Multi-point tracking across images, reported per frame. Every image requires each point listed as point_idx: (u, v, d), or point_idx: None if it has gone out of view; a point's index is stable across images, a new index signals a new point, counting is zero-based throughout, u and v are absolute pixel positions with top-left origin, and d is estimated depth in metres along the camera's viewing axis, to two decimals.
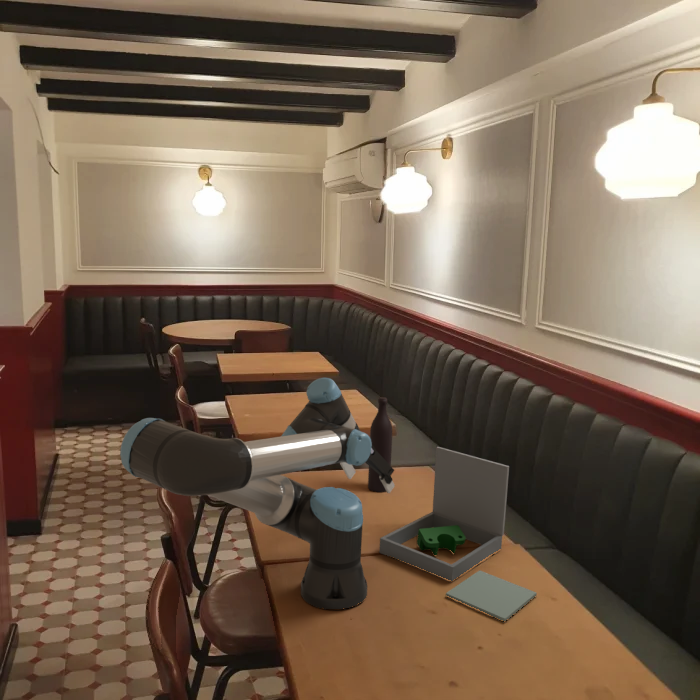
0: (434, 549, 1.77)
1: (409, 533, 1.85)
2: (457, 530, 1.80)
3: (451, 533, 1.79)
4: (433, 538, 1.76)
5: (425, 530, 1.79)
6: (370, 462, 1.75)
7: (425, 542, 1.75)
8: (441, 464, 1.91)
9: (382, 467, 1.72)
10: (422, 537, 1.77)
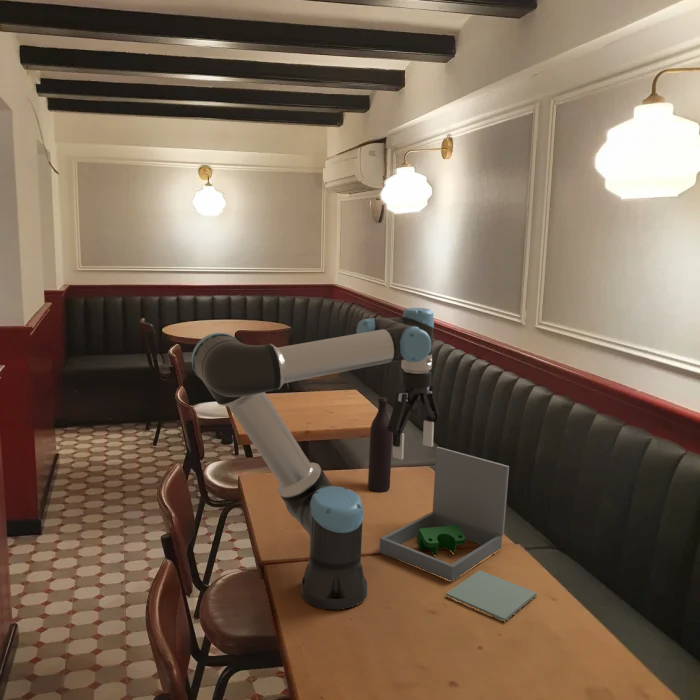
0: (434, 549, 1.77)
1: (409, 533, 1.85)
2: (457, 530, 1.80)
3: (451, 533, 1.79)
4: (433, 538, 1.76)
5: (425, 530, 1.79)
6: None
7: (425, 542, 1.75)
8: (441, 464, 1.91)
9: (392, 418, 1.67)
10: (422, 537, 1.77)
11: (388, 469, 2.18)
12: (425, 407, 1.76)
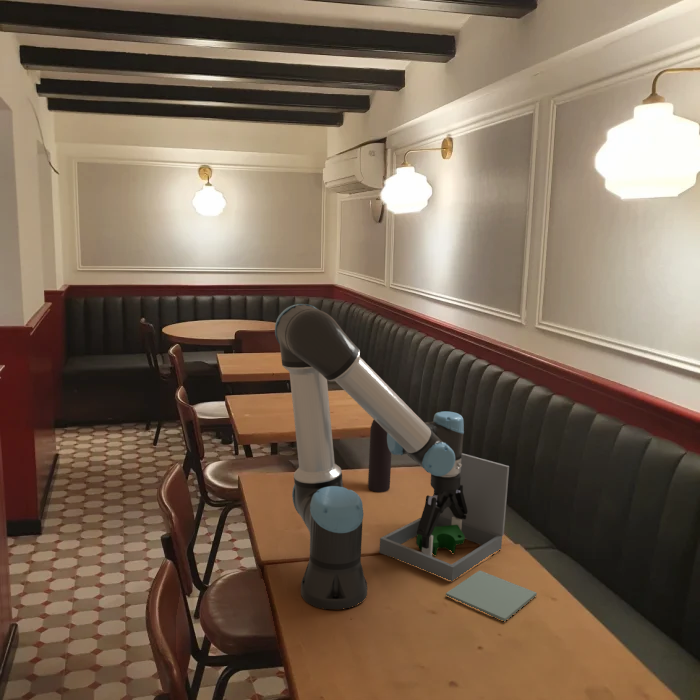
0: (433, 549, 1.77)
1: (409, 533, 1.85)
2: (456, 530, 1.80)
3: (450, 532, 1.79)
4: None
5: None
6: None
7: None
8: None
9: (421, 520, 1.72)
10: (421, 537, 1.77)
11: (388, 469, 2.18)
12: (453, 506, 1.80)
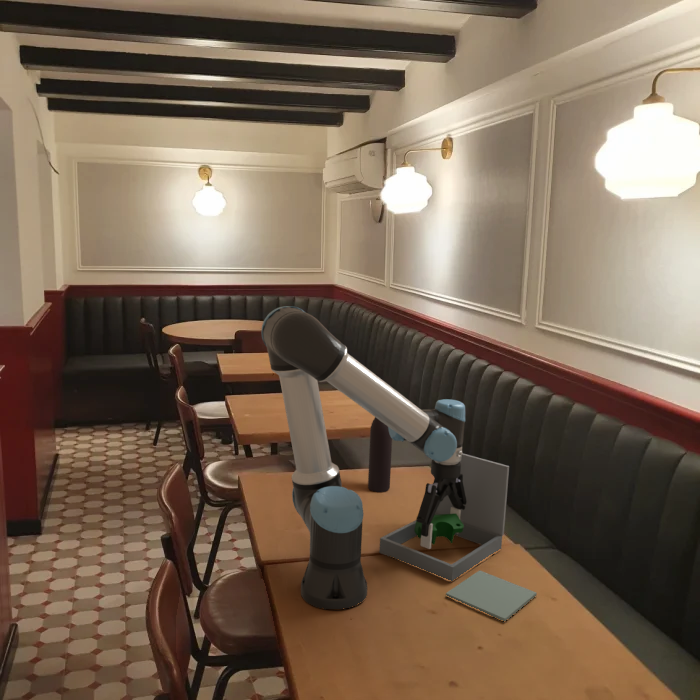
0: (432, 537, 1.76)
1: (409, 533, 1.85)
2: (455, 518, 1.79)
3: (449, 521, 1.78)
4: None
5: None
6: None
7: None
8: None
9: (421, 508, 1.71)
10: (420, 524, 1.76)
11: (388, 469, 2.18)
12: (453, 495, 1.79)
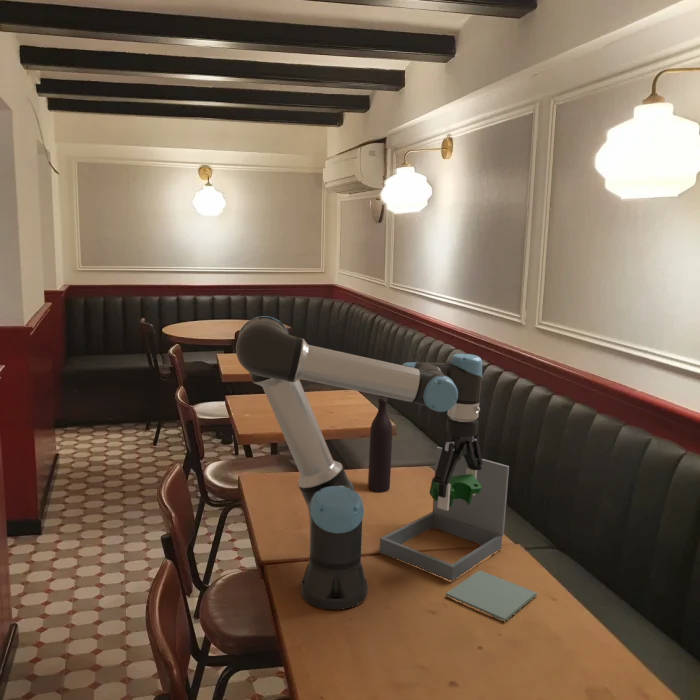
0: (449, 498, 1.68)
1: (409, 533, 1.85)
2: (472, 479, 1.72)
3: (466, 481, 1.70)
4: None
5: None
6: None
7: None
8: None
9: (438, 468, 1.63)
10: (436, 486, 1.68)
11: (388, 469, 2.18)
12: (469, 455, 1.71)
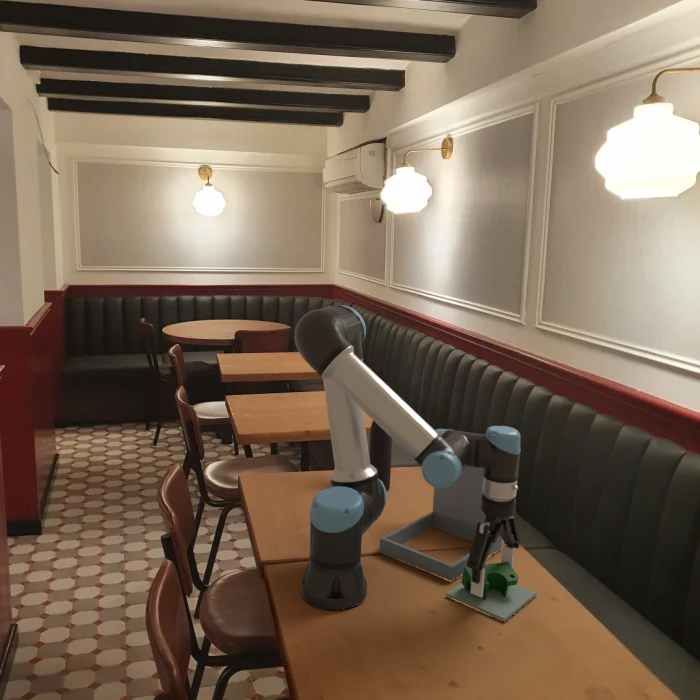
0: (483, 590, 1.55)
1: (409, 533, 1.85)
2: (508, 568, 1.58)
3: (501, 571, 1.57)
4: None
5: None
6: None
7: None
8: None
9: (472, 551, 1.49)
10: (469, 577, 1.55)
11: (388, 469, 2.18)
12: (506, 534, 1.58)
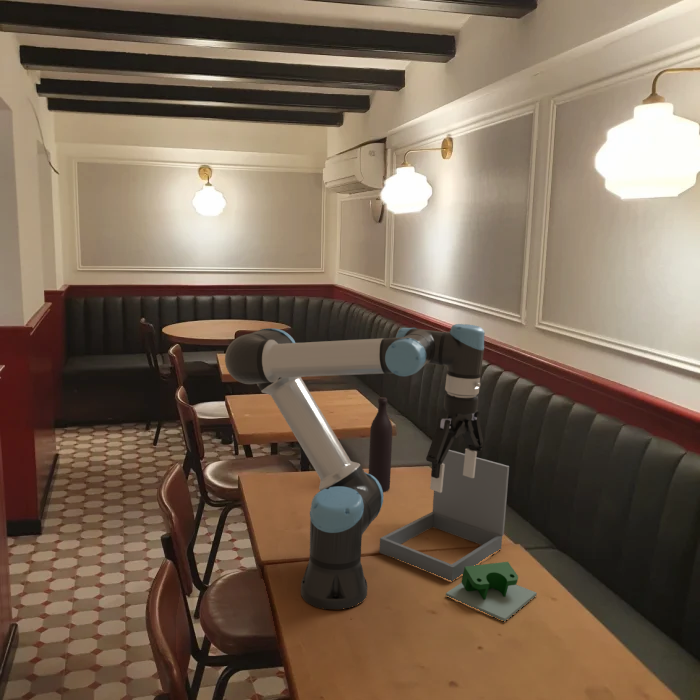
0: (483, 590, 1.55)
1: (409, 533, 1.85)
2: (507, 568, 1.58)
3: (501, 571, 1.57)
4: (482, 578, 1.54)
5: (472, 568, 1.57)
6: None
7: (473, 583, 1.53)
8: None
9: (432, 446, 1.50)
10: (469, 577, 1.55)
11: (388, 469, 2.18)
12: (468, 435, 1.58)
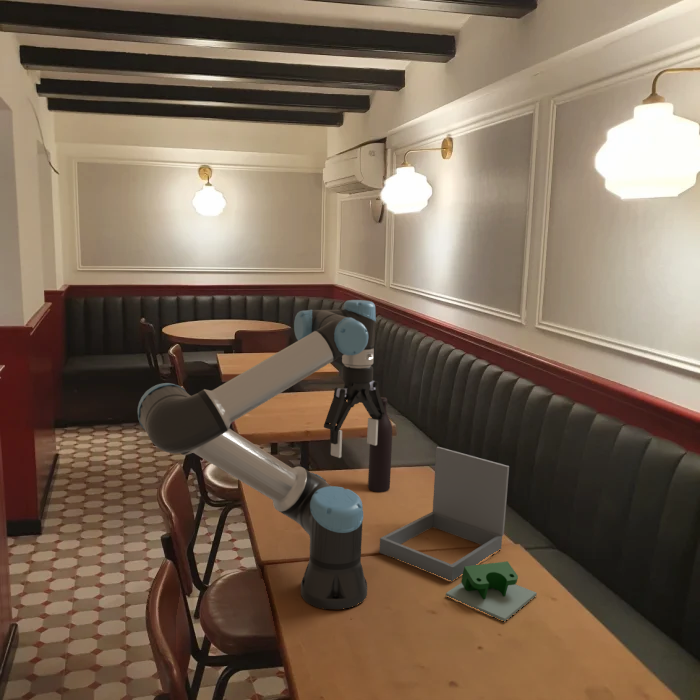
0: (482, 590, 1.55)
1: (409, 533, 1.85)
2: (507, 568, 1.58)
3: (501, 571, 1.57)
4: (481, 578, 1.54)
5: (471, 568, 1.57)
6: None
7: (473, 582, 1.53)
8: (441, 464, 1.91)
9: (329, 413, 1.61)
10: (469, 576, 1.55)
11: (388, 469, 2.18)
12: (368, 404, 1.69)
